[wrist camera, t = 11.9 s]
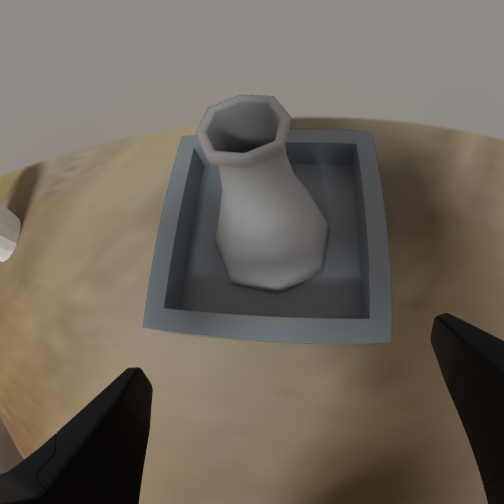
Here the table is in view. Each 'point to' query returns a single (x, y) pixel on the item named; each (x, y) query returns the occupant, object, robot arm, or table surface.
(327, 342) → the tray
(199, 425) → the table surface
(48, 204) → the table surface
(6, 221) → the white cup
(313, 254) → the light grey vase
